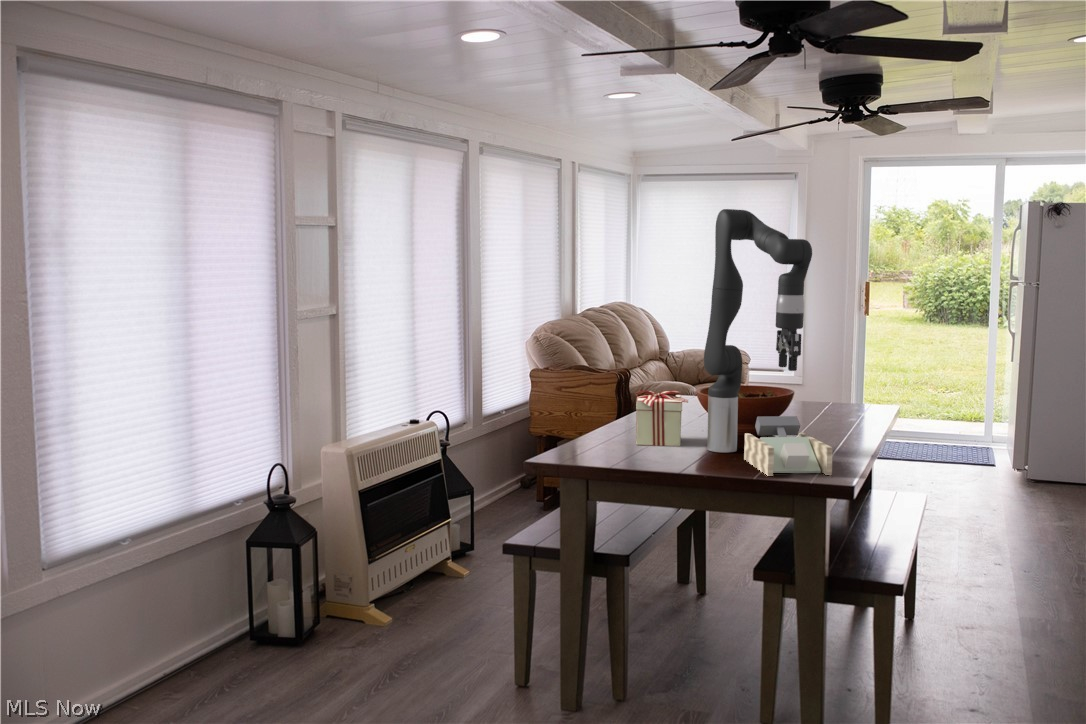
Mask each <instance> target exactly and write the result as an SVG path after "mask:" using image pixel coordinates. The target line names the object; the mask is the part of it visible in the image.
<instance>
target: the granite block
mask: <svg viewBox="0 0 1086 724" xmlns="http://www.w3.org/2000/svg"><path fill="white" fill-rule="evenodd" d="M780 457H781V460H782V462H783V465H784V468H785V469H804V468H806V466H807V462H808V459H809V453H808V451H807V448H806V445H805V443H784V444H783V448H782V452H781V456H780Z"/></svg>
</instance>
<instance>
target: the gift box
mask: <svg viewBox="0 0 1086 724" xmlns="http://www.w3.org/2000/svg"><path fill="white" fill-rule="evenodd" d="M635 396H636V402H635V403H636V404H635V406H636V407H635V410H636V415H635V418H636V421H635V423H636V424H635V427H636V428H635V430H636V432H635V433H636V435H635V443H636V444H635V445H637V446H651V447H652V446H653V447H655V446H656V447H681V438H682V437H681V435H682V434H681V433H682V432H681V431H682V430H681V429H682V412H683V403H689V399H686V398H682V392H680V391H678V390H672V391H668V390H663V391H662V392H660V393H659V392H658V393H656V392H654V391H652V390H639V391H636V392H635Z"/></svg>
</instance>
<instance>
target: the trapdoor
mask: <svg viewBox="0 0 1086 724" xmlns="http://www.w3.org/2000/svg"><path fill="white" fill-rule="evenodd" d="M754 426H755V427H754V428H755V430H756V434H757V436H758V437H759V436H761V437H760V438H759V439H760V440H762V441H763V442H765V443H766V444H768V445H770V446H771V447H773V448H774V465H773V473H820V474H822V473H821V470H820V467H819V465H818V462H817V460H816V457H815V455H814V452H813V449H812V447H811V444H810V442H809V439H808V437H799V433H800V429H801V424H800V420H799V417H798V416H796V415H795V416H793V415H791V416H790V415H789V416H788V415H787V416H786V415H784V416H780V415H779V416H778V415H775V416H772V415H771V416H767V415H766V416H765V415H764V416H757V417H756V420H755V425H754ZM767 436H768V437H767ZM784 443H805V445H806V448H807V451H808V453H809V459H808V462H807V466H806V468H804V469H785V468H784V465H783V462H782V460H781V457H780V456H781V452H782V448H783V444H784Z"/></svg>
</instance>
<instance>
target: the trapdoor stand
mask: <svg viewBox="0 0 1086 724" xmlns="http://www.w3.org/2000/svg"><path fill="white" fill-rule="evenodd" d="M798 437H808V439H809V442H810V444H811V447H812V449H813V452H814V455H815V457H816V460H817V462H818V465H819V467H820V470H821V472H822V473H824V474H825V475H832V476H833V448H834V447H832V446H831V445H829V444H826V443H825V442H823V441H821V440H819V439H816V438H814V437H812V436H810V435H809V434H807V433H806V432H799V433H798ZM743 449H744V451H743V452H744V453H743V460H744V461H745V460H746V463H748V462H749V463H748V464H750V465H751V466H752V465H753V467H754V468H755V469H756V468H757V469H756V470H758V471H759V470H760V473H762V472H763V473H764V474H763V473H762V474H763V475H765V474H766V475H767V476H773V477H774V474H773V465H774V448H773V447H771V446H770V445H768V444H766V443H765V442H763V441H762V440H760V438H758V437H756V436H755V435H753V434H751V432H750V433H748V432H746V433H744V447H743ZM822 473H821V474H822ZM824 474H823V475H824ZM766 475H765V476H766ZM825 475H824V476H825ZM767 476H766V477H767Z"/></svg>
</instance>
